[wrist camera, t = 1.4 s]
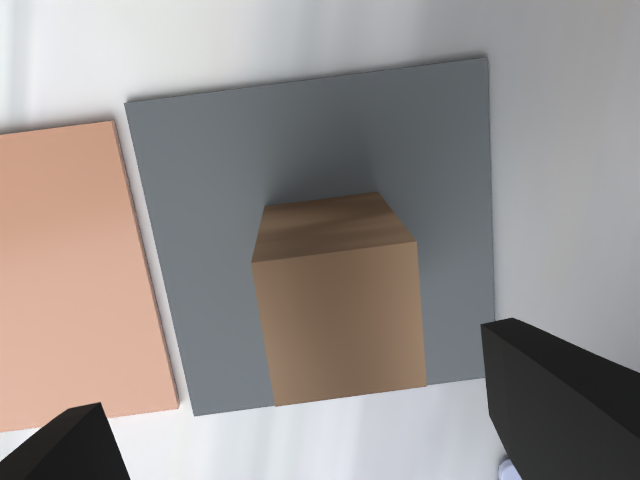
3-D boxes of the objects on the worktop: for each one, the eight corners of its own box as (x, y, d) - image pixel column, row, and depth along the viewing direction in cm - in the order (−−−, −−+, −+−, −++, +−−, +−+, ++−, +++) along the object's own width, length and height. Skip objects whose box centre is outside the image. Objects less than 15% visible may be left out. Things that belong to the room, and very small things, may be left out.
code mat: (485, 57, 17) (488, 57, 17) (493, 373, 21) (495, 376, 21) (125, 102, 17) (123, 103, 17) (194, 413, 21) (193, 416, 20)
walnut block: (378, 191, 18) (416, 241, 12) (387, 296, 19) (427, 386, 14) (264, 206, 18) (250, 263, 12) (280, 310, 19) (275, 406, 14)
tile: (114, 120, 17) (111, 120, 17) (180, 404, 20) (178, 408, 20) (-158, 154, 17) (-166, 155, 17) (-49, 434, 20) (-54, 439, 20)
